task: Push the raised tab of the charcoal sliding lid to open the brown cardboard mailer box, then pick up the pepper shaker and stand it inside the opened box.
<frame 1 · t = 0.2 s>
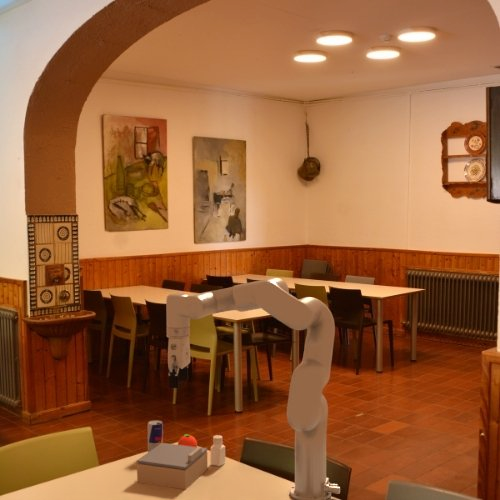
hand: (178, 384, 212), 30 cm above the table, tool pointing down, fingers open, 9 cm apart
energy drink: (155, 456, 232), on the table
mailer box: (173, 475, 214), on the table
box lid: (172, 452, 213), point 8 cm above the table, slide at 0.0 cm
pepper shaker: (217, 464, 224), on the table
clementine: (187, 454, 233), on the table
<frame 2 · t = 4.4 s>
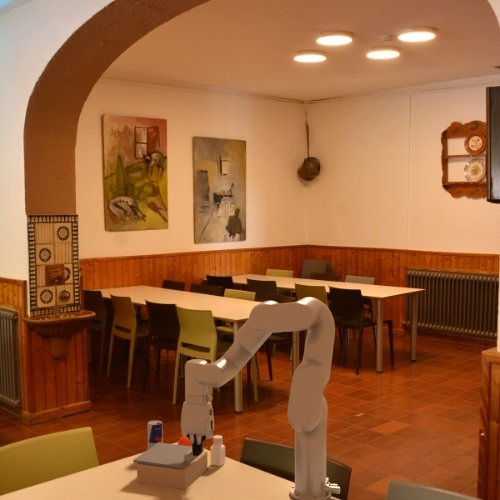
hand: (197, 454, 210), 8 cm above the table, tool pointing down, fingers closed
box lid: (169, 452, 214), point 8 cm above the table, slide at 1.3 cm, touching gripper
everything else where it was.
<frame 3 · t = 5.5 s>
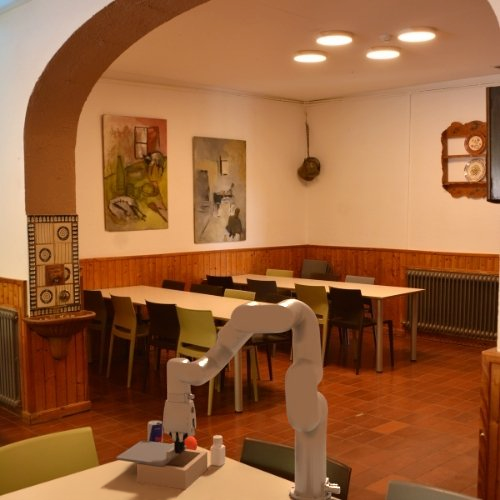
hand: (179, 452, 213), 8 cm above the table, tool pointing down, fingers closed
box lid: (152, 449, 216), point 8 cm above the table, slide at 7.7 cm, touching gripper
everything else where it was.
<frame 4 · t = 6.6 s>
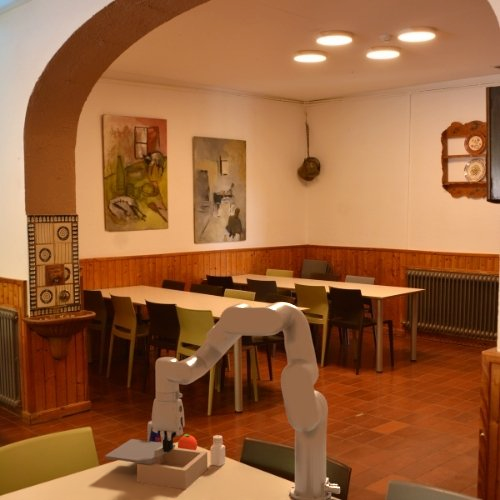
hand: (167, 450, 214), 8 cm above the table, tool pointing down, fingers closed
box lid: (140, 448, 217), point 8 cm above the table, slide at 11.9 cm, touching gripper
everything else where it was.
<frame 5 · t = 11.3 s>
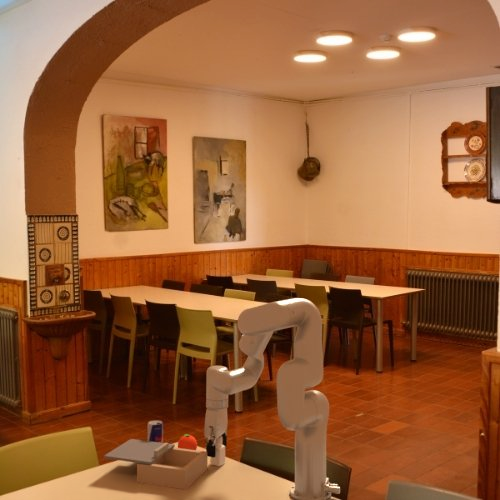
hand: (216, 451, 224), 4 cm above the table, tool pointing down, fingers open, 9 cm apart
box lid: (140, 448, 217), point 8 cm above the table, slide at 12.1 cm
everything else where it was.
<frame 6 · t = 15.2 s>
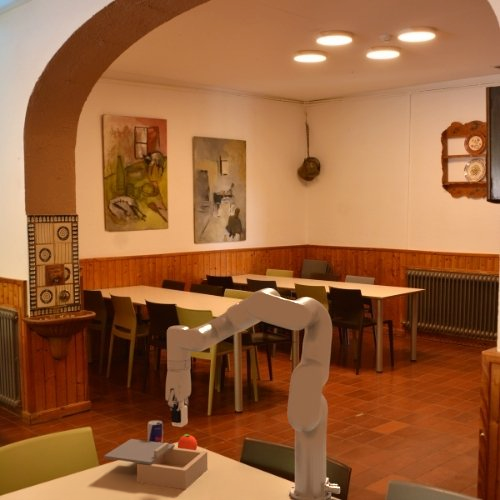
hand: (179, 419, 212), 19 cm above the table, tool pointing down, fingers closed on pepper shaker, 4 cm apart
pepper shaker: (179, 425, 212), point 17 cm above the table, touching gripper
everything else where it was.
when the fingers open (4 cm above the table, at t = 18.2 s): pepper shaker drops 1 cm, resting on mailer box.
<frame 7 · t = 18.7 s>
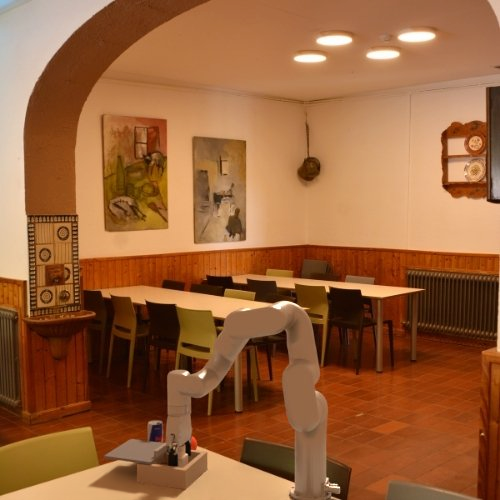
hand: (179, 460, 213), 5 cm above the table, tool pointing down, fingers open, 9 cm apart
pepper shaker: (180, 474, 213), point 1 cm above the table, touching mailer box
everything else where it was.
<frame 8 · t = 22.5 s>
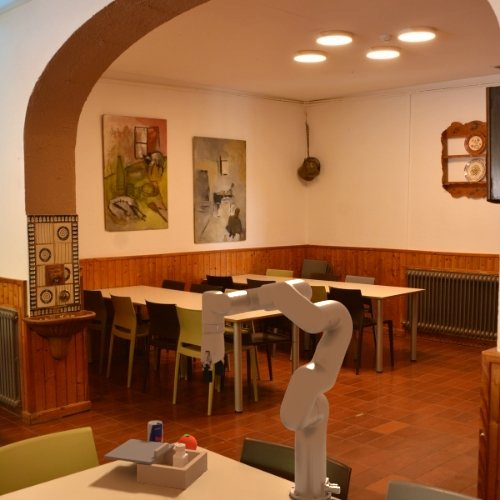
hand: (213, 378, 219), 30 cm above the table, tool pointing down, fingers open, 9 cm apart
nothing on the table moved.
at the end: box lid slide at 12.1 cm; pepper shaker inside the target area on the mailer box (0.7 cm from its centre), point 0.8 cm above the mailer box's base; pepper shaker tilted 0° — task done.
